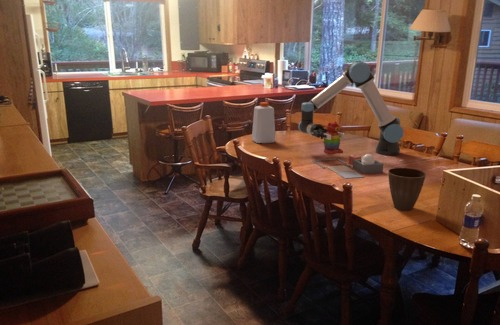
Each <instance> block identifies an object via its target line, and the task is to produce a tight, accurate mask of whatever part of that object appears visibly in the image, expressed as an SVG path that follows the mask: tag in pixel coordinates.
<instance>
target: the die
mask: <svg viewBox="0 0 500 325" xmlns="http://www.w3.org/2000/svg"><path fill="white" fill-rule="evenodd" d="M355 159H362V156H361V155H360V156H359V155H357V154H351V155H348V163H347V164H349V165H350V166H353V160H355Z"/></svg>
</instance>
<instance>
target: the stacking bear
mask: <svg viewBox="0 0 500 325" xmlns="http://www.w3.org/2000/svg"><path fill="white" fill-rule="evenodd" d="M326 129H327V131H328V132H327V133H326V134H329V135H331V140H328V139H325V138H323V147H324V149H323V153H324V154H326V155H331V156H333V155H335V154H343V153H344V150H343V149H341V148H340V144H341V138H340V137H339V133H338V130H339V131H340V126H339V124H338V123H337V121H332V122H327V125H326Z"/></svg>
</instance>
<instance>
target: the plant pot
mask: <svg viewBox="0 0 500 325" xmlns="http://www.w3.org/2000/svg"><path fill="white" fill-rule="evenodd" d="M387 172H388V174H387V175H388V184H389V189H390V190H389V191H390V195H391V199H392V204H393V206H394V208H395V209H396V210H399V211H406V212H408V211H412V210H413V209H414V207H415V206H416V203H417V201H418V199H419V196H420V194H421V192H422V189H423V187H424V183H425V179H426V176H427V174H426V173H425V172H424V171H422V170H420V169H415V168H412V167H411V168H410V167H394V168H389V169H388V171H387Z"/></svg>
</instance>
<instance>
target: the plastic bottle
mask: <svg viewBox="0 0 500 325" xmlns="http://www.w3.org/2000/svg"><path fill="white" fill-rule="evenodd" d="M252 120H253V121H252V130H251V131H252V133H251V139H252V141H253V142H254V143H257V144H260V143H262V144H272V143H275V142H276V127H275V124H276V123H275V108H274V107H273V106H270V105H269V102H267V101H265V102H263V101H262V102H259V105H257V106H254V108H253V119H252Z"/></svg>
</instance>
